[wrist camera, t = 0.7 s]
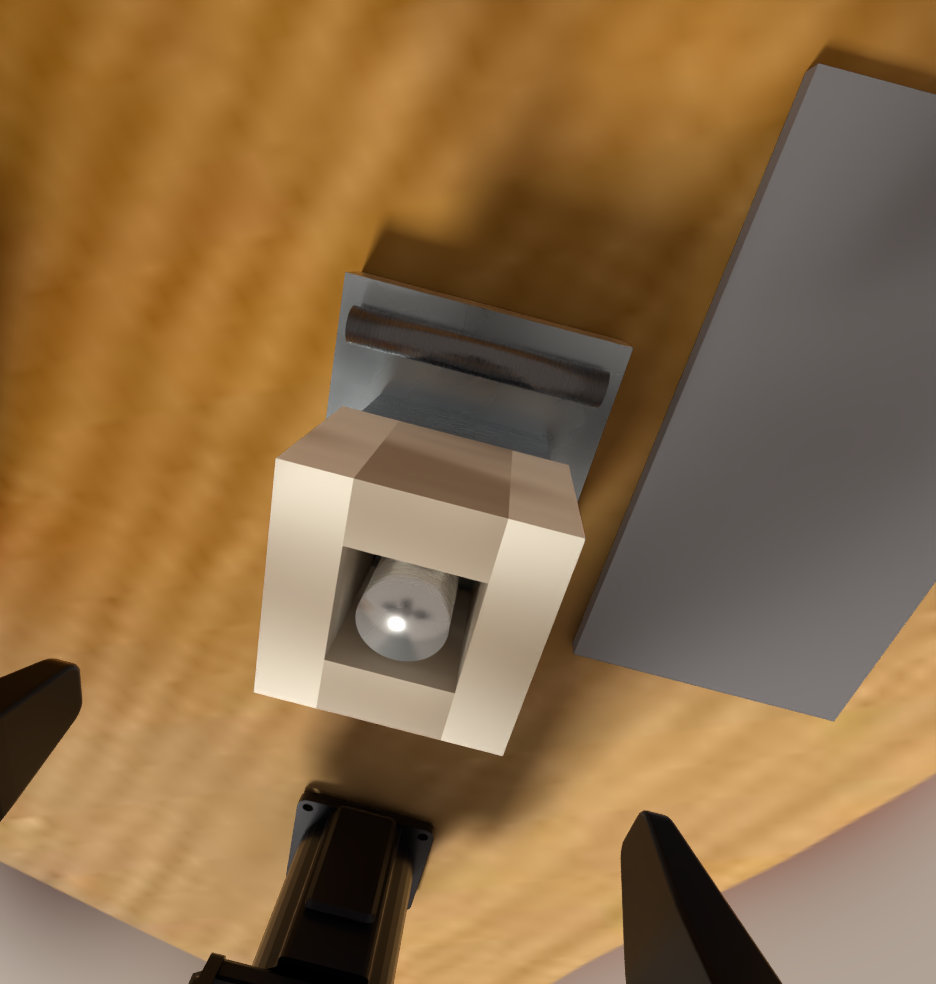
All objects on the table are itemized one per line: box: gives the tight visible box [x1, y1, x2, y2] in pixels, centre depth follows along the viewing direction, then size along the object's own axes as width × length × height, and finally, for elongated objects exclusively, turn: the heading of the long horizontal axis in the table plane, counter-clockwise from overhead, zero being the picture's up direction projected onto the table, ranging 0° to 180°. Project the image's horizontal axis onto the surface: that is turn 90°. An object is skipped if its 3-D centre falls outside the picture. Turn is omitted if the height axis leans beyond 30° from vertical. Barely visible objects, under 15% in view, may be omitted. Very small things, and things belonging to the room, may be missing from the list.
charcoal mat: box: [572, 63, 936, 721], centre depth 16 cm, size 18×10×1 cm, turn 167°
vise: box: [326, 272, 633, 661], centre depth 15 cm, size 12×8×8 cm, turn 167°
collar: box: [254, 406, 586, 756], centre depth 13 cm, size 6×6×4 cm
